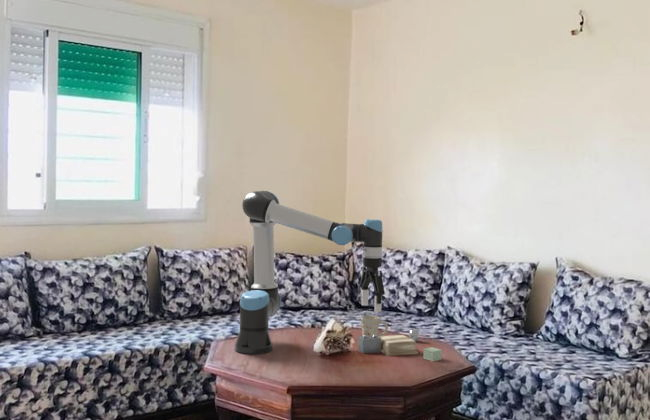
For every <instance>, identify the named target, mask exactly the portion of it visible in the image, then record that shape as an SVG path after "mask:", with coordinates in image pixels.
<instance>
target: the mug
mask: <svg viewBox="0 0 650 420" xmlns="http://www.w3.org/2000/svg"><path fill="white" fill-rule="evenodd" d="M360 321H361V331H362V332H361V334H362V335H361V336H363V335H367V336H370V335H373V334H376V335H377V336H385V335H386V334H387V332H388V329H389V326H388V323H387V322H386V321H385V320H381V318H380V317H379V316H378V315H377V316H376V315H362V316H361V317H360ZM381 324H383V325H384V331H383V332H382V333H379V326H380V325H381Z"/></svg>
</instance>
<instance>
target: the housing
mask: <svg viewBox="0 0 650 420" xmlns="http://www.w3.org/2000/svg"><path fill="white" fill-rule="evenodd" d="M357 344H358V345H357V347H358V348H357V351H359V352H360V353H362V354H373V353H382V352H381V337H379V336H377V335H376V334H373V335H370V336H367V335H359V336H358V343H357Z"/></svg>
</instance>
